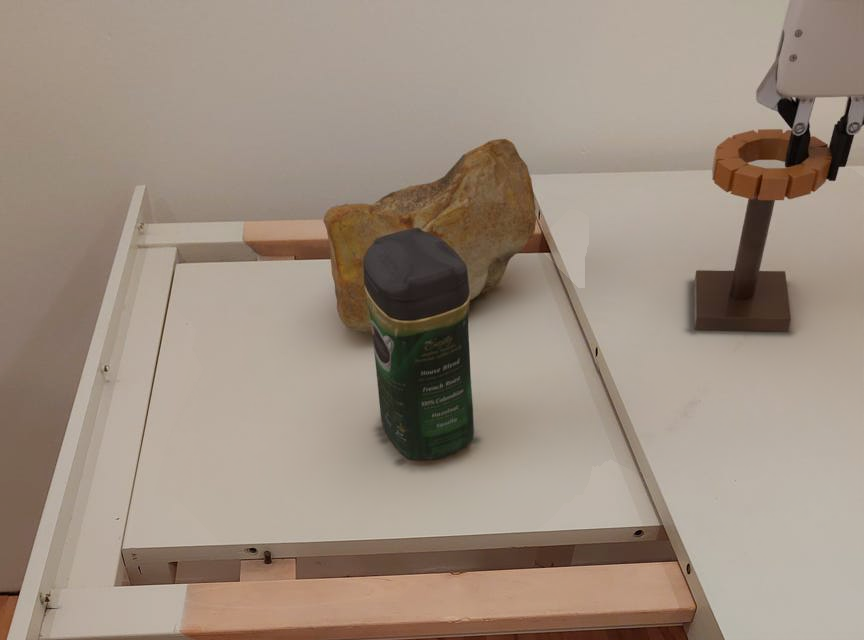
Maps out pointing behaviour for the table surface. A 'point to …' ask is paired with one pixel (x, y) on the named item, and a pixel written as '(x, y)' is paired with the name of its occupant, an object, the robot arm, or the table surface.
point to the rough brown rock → (440, 223)
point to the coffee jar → (421, 343)
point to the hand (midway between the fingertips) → (812, 172)
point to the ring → (768, 182)
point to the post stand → (744, 284)
